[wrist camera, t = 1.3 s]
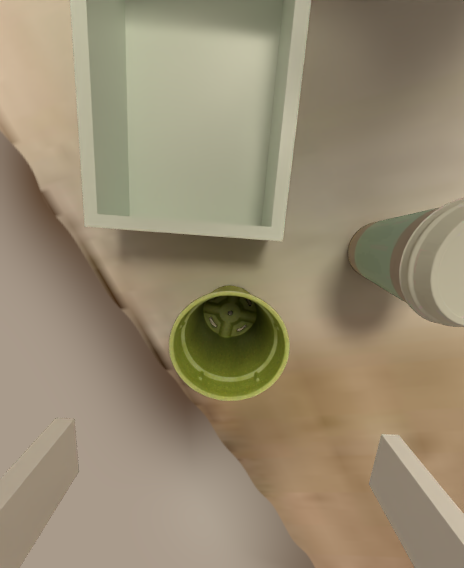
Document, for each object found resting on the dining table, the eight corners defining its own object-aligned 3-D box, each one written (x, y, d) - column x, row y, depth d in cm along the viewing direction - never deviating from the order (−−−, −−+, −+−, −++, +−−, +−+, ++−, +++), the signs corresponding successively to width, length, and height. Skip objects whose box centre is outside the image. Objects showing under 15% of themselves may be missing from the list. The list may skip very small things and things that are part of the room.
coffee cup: (339, 295, 27) (422, 348, 15) (330, 217, 25) (419, 209, 13) (416, 280, 27) (562, 322, 15) (414, 200, 25) (579, 176, 13)
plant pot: (220, 363, 29) (216, 420, 20) (170, 302, 27) (143, 336, 19) (286, 321, 28) (312, 362, 19) (239, 253, 26) (244, 266, 17)
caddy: (116, -32, 20) (59, -163, 13) (294, -13, 21) (326, -132, 14) (124, 226, 25) (84, 226, 18) (268, 237, 25) (282, 241, 19)
